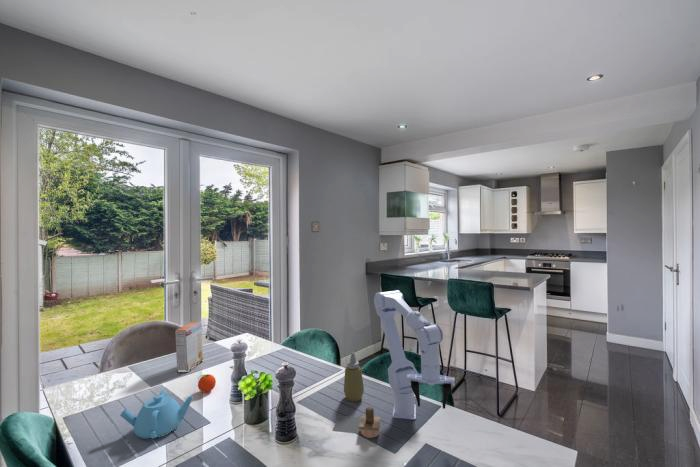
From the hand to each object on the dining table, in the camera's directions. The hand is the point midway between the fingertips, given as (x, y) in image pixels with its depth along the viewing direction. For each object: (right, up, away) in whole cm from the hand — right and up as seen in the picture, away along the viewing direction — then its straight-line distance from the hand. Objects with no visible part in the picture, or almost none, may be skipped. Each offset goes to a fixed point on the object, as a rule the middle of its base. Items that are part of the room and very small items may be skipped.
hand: (431, 405), depth 105 cm
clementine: (-87, -12, +34) cm, 94 cm away
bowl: (-19, -10, +3) cm, 22 cm away
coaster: (-27, -11, +7) cm, 30 cm away
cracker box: (-106, -12, +60) cm, 122 cm away
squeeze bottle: (-24, -10, +25) cm, 36 cm away
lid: (-19, -7, +3) cm, 21 cm away
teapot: (-92, -13, +9) cm, 93 cm away
